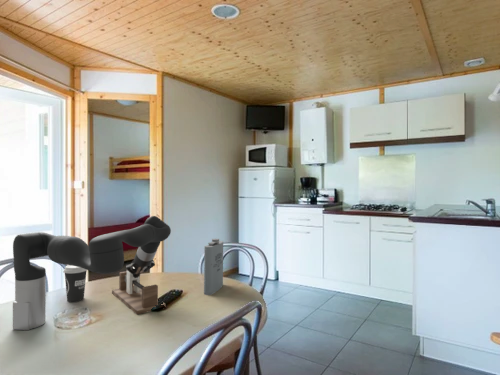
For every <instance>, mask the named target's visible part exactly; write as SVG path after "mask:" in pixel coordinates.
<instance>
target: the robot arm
mask: <svg viewBox="0 0 500 375" xmlns="http://www.w3.org/2000/svg"><path fill="white" fill-rule="evenodd" d="M171 232H172V230H171V227H170V225H168V224H167V223H166V222H165V221H163V220H162V219H161V218H160V217H158V216H156V215H151V216H150V217H147V219H146V220H145V221H144V223H143V224H141V225H140V226H137V227H134V228H131V229H130V228H129V229H124V230H118V231H114V232H109V233H105V234H101V235H98V236H96V237H93V238H91V239H90V241H89V243H86V242H85V241H84V240H83V239H81V238H79V237H77V236H73V235H72V236H70V235H54V234H50V233H48V232H43V231H41V232H40V231H38V232H31V233H30V232H29V233H21V234H17V235H16V236H15V237H14V238H13V239H14V240H13V242H12V255H13V271H14V292H15V293H14V301H13V302H12V330H17V331H19V330H20V331H23V330H24V331H30V330H32V329H35V328H39V327H41V326H43V325H44V324H45V323H46V303H47V302H46V296H47V295H46V291H47V290H46V289H47V288H46V286H47V285H46V283H47V282H46V280H47V277H46V276H47V275H46V273H47V271H46V268H45V267H44V266H40V265H39V266H38V265H33V264H31V260H32V259H36V258H43V257H48V258H49V259H50V260H51V261H53V262H54V263H56V264H59V265H60V264H61V265H65V266H67V265H72V266H77V267H81V268H84V269H86V270H87V271H89V272H92V273H96V274H104V275H107V274H113V273H116V272H118V271H120V270H122V268H123V267H124V265H125V267H126V271H127V270H128V271H129V272H130V273H132V274H133V277H134V278H138V277H139V276H140V277H141V274H142V273H146V272H148V271H149V270H150V269H151V268H153V267H155V266H156V263H155V260H154V258H155V256H156V254H157V253H158V252H157V251H158V248H159V246H160V244H161V242H163V241H165V240H167V239H168V238H169V237H170V235H171ZM123 243H125V244H127V245H128V246H130V247H133V248H134V247H135V248H137V251H136V253H135V255H134V257H133V260H132V261H131V263H130V264H129V263H126V264H125V255H124V245H123ZM133 267H134V269H133Z"/></svg>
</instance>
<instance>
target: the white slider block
mask: <svg viewBox="0 0 500 375" xmlns="http://www.w3.org/2000/svg"><path fill="white" fill-rule="evenodd" d="M132 267H133V266H132ZM133 269H134V267H133ZM126 271H127V290H126V292H127V293H128V294H132V280H135V281H137V282H138V283H140V284H141V282H140V281H141V275H140V276H139V277H138V278H134V277H133V274H132V273H130V272H129V271H128V270H127V269H126ZM133 286H134V291H135V292H137V293H139V292H140V288H139V287H137V286H136V285H134V284H133Z"/></svg>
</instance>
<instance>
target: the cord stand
mask: <svg viewBox="0 0 500 375" xmlns="http://www.w3.org/2000/svg"><path fill="white" fill-rule="evenodd" d="M118 274H119V275H118V276H119V280H118V282H119V283H118V285H119V286H118V288H115V289H111V293H112V294H113V296H115V297H116V298H117V299H118V300H119V301H120V302H121V303H123V304H124V305H125V306H126V307H127V308H128V309H130V310H131V311H132V312H134V313H135V314H136V315H141V314H146V313H149V312H152V311H151V309H152V308H153V307H156V306H155V305H158V299H159V285H157V284H151V285H146V286H144V285H143V284H141V282H140V283H138V282H137V281H135V280H132V294H128V293H127V292H126V290H127V270H126V271H120V272H119V273H118ZM134 285H136V286H137V287H139V288H140V292H139V293H137V292H135V291H134ZM161 305H164V306H165V307H166V303H165V302H163V304H161Z"/></svg>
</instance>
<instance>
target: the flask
mask: <svg viewBox="0 0 500 375" xmlns="http://www.w3.org/2000/svg"><path fill="white" fill-rule="evenodd" d="M203 249H204V252H203V254H204V256H203V257H204V260H203V262H204V263H203V265H204V267H203V294H204V296H205V295H206V296H211V295H213V294H215V293H217V292H219V290H221V289H222V287H223V286H224V241H223V240H220V238H211V241H210V242H208V243H207V245H204V248H203ZM216 291H217V292H216Z"/></svg>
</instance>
